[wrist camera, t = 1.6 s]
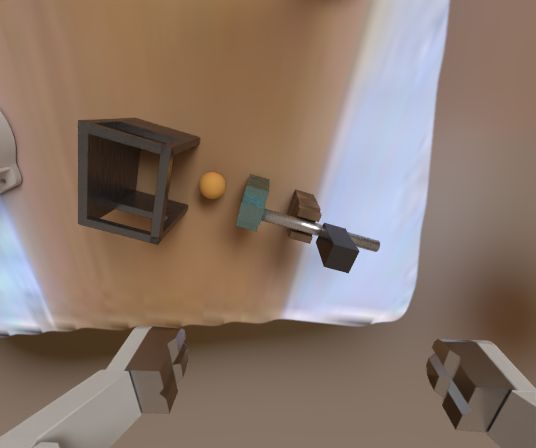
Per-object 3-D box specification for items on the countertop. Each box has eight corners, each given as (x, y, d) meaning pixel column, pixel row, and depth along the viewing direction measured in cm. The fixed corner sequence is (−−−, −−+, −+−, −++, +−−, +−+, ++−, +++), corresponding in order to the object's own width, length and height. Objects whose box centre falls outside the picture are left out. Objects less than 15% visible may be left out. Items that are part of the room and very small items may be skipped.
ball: (213, 199, 42) (207, 207, 38) (197, 178, 41) (189, 185, 37) (233, 185, 41) (229, 193, 37) (217, 164, 40) (211, 170, 36)
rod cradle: (313, 194, 42) (322, 213, 34) (302, 222, 43) (309, 245, 36) (295, 189, 41) (300, 206, 34) (285, 217, 43) (288, 239, 36)
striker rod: (368, 208, 41) (411, 252, 29) (353, 241, 44) (386, 294, 31) (250, 174, 40) (239, 204, 27) (240, 209, 42) (226, 253, 29)
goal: (200, 137, 38) (171, 147, 27) (187, 210, 43) (157, 244, 32) (135, 117, 37) (78, 120, 26) (129, 194, 42) (78, 224, 31)
